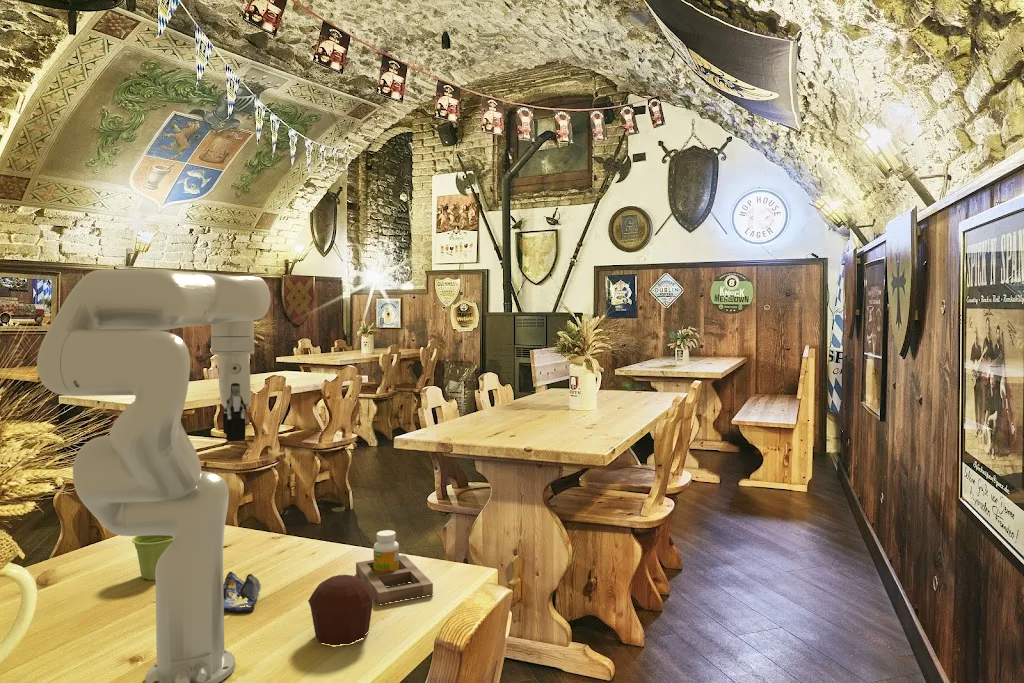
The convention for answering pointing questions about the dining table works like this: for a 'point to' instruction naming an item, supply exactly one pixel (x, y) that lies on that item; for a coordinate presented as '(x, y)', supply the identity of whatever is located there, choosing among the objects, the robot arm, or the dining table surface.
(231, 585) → the snack package
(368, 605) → the muffin
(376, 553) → the supplement bottle
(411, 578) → the bottle rack
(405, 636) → the dining table surface
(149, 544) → the plant pot
